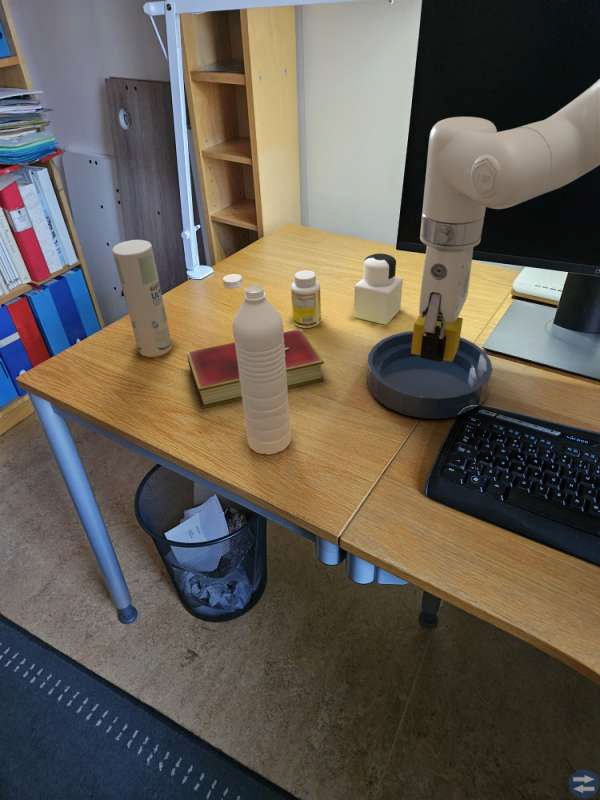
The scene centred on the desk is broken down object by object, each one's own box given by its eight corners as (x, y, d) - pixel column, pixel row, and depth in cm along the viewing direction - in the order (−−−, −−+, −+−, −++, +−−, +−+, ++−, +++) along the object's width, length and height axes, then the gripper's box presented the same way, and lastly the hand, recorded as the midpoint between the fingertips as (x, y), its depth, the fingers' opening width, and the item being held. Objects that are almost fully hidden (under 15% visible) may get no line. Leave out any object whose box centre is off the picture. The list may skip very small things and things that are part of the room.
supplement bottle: (307, 312, 114) (305, 265, 108) (326, 321, 111) (326, 273, 105) (287, 322, 111) (284, 274, 105) (306, 332, 108) (304, 283, 102)
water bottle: (300, 440, 83) (291, 286, 68) (267, 462, 80) (250, 305, 64) (261, 414, 88) (245, 266, 73) (229, 434, 85) (205, 283, 70)
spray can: (167, 357, 103) (145, 254, 91) (133, 357, 103) (106, 255, 91) (176, 339, 108) (156, 239, 96) (143, 339, 108) (119, 239, 96)
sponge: (458, 347, 82) (463, 317, 79) (452, 362, 79) (457, 331, 76) (418, 340, 84) (421, 310, 81) (410, 353, 81) (413, 323, 78)
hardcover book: (189, 369, 99) (186, 349, 97) (301, 345, 104) (300, 326, 101) (202, 408, 90) (198, 387, 88) (324, 380, 95) (323, 359, 92)
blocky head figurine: (368, 302, 116) (371, 247, 109) (400, 310, 113) (405, 253, 106) (353, 317, 112) (354, 261, 104) (386, 325, 109) (390, 268, 101)
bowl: (496, 364, 97) (500, 342, 94) (474, 434, 83) (479, 410, 80) (387, 343, 103) (388, 322, 101) (350, 404, 89) (350, 381, 87)
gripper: (468, 257, 63) (448, 387, 74) (493, 209, 75) (472, 327, 86) (403, 248, 66) (393, 376, 77) (437, 203, 78) (424, 319, 89)
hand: (435, 349), depth 81 cm, fingers closed on sponge, 4 cm apart
